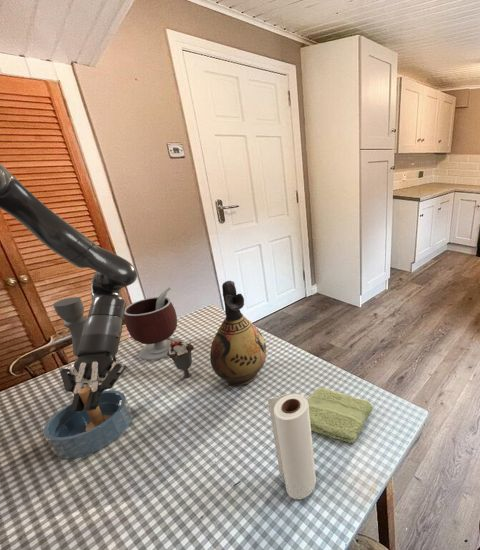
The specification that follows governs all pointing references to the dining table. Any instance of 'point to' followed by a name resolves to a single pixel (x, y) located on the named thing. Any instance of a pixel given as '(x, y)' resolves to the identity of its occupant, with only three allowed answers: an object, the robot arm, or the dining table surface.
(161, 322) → the mate gourd
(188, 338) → the dining table surface
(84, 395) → the wooden stamp
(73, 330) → the candle holder
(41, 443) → the dining table surface
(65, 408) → the bowl
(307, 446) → the paper towel roll
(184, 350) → the sundae
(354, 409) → the washcloth
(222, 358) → the ceramic jug
